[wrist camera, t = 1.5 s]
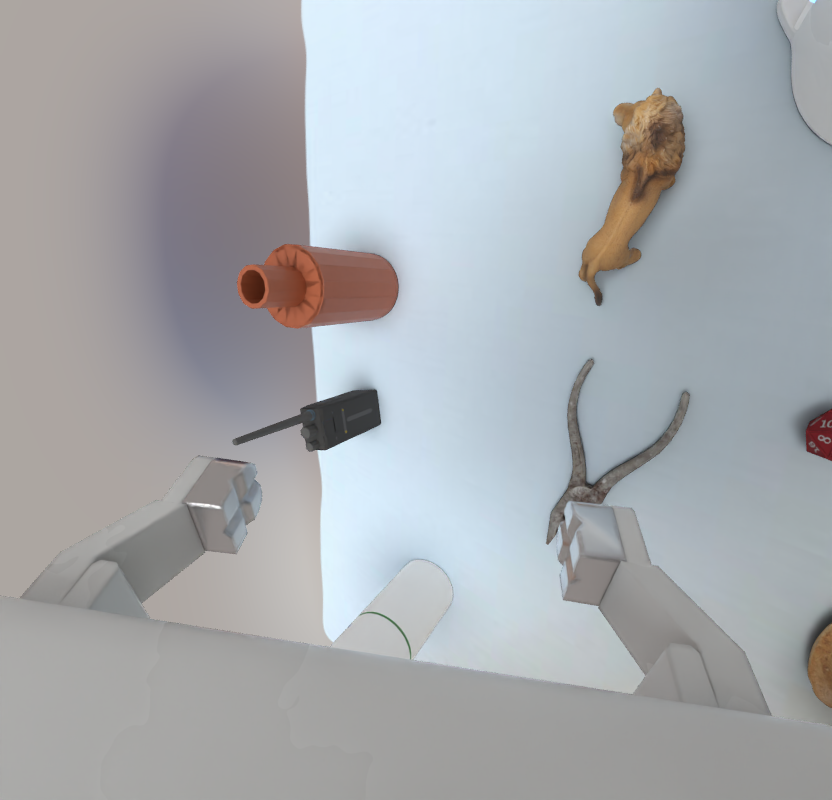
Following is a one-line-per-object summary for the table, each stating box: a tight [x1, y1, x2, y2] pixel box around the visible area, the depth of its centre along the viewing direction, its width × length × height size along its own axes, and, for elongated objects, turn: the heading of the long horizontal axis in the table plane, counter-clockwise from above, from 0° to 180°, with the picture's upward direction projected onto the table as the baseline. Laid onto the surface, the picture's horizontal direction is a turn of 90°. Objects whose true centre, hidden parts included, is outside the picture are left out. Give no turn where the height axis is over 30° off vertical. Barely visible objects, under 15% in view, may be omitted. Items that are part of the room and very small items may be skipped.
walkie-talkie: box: [233, 390, 381, 452], centre depth 48 cm, size 5×3×20 cm
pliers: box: [546, 359, 690, 544], centre depth 44 cm, size 10×1×20 cm
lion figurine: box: [579, 88, 685, 306], centre depth 36 cm, size 15×5×9 cm, turn 168°
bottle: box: [237, 244, 398, 328], centre depth 45 cm, size 7×7×18 cm
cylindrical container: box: [330, 560, 453, 660], centre depth 47 cm, size 7×7×25 cm
